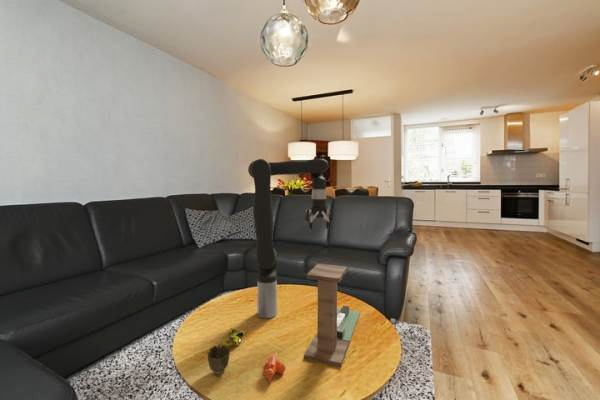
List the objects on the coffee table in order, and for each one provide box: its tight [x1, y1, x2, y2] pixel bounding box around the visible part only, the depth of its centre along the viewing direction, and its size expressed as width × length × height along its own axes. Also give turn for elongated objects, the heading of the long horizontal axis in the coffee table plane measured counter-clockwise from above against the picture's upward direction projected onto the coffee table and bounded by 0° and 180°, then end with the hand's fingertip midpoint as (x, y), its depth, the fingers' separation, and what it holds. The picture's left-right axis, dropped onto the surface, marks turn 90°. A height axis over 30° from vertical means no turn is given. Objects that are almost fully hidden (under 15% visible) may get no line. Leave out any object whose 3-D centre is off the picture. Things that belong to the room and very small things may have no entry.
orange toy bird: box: [262, 350, 286, 383], centre depth 99 cm, size 5×8×12 cm
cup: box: [206, 344, 231, 376], centre depth 98 cm, size 8×7×8 cm
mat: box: [316, 307, 361, 344], centre depth 131 cm, size 27×14×1 cm, turn 159°
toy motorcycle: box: [222, 327, 246, 347], centre depth 117 cm, size 12×4×7 cm
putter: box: [337, 305, 350, 339], centre depth 130 cm, size 24×8×3 cm, turn 158°
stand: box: [303, 263, 350, 368], centre depth 109 cm, size 14×14×32 cm
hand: (318, 229), depth 149 cm, fingers open, 8 cm apart
